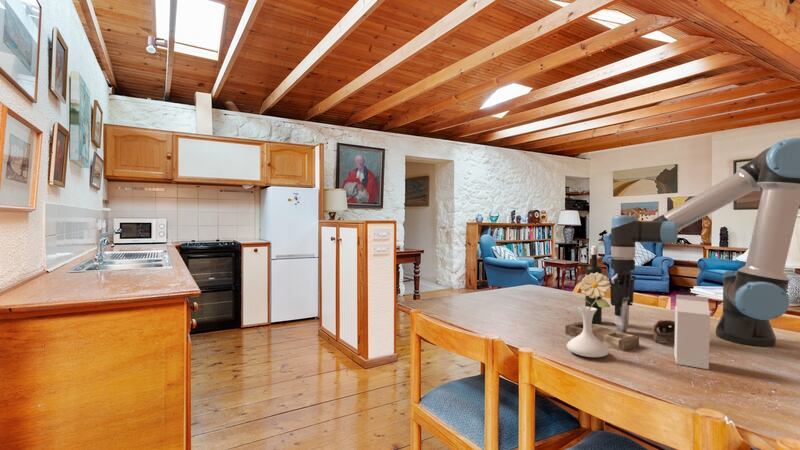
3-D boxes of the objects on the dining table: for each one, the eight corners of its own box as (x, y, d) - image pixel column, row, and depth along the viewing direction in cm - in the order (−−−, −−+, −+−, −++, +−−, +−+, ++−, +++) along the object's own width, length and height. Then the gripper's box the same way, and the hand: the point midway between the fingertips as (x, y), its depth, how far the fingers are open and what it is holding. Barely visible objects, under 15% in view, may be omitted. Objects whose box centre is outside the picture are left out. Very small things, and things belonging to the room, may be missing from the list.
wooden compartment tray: (638, 346, 121) (639, 336, 121) (623, 351, 117) (623, 341, 117) (580, 330, 138) (580, 321, 138) (565, 334, 134) (565, 325, 134)
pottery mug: (697, 349, 120) (690, 328, 119) (667, 360, 122) (659, 340, 120) (673, 329, 132) (666, 309, 130) (646, 339, 134) (639, 320, 132)
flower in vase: (558, 350, 117) (559, 269, 117) (584, 345, 122) (586, 267, 121) (594, 365, 105) (596, 275, 105) (623, 359, 110) (624, 273, 109)
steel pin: (630, 332, 136) (631, 296, 135) (624, 334, 133) (625, 298, 133) (618, 329, 139) (619, 294, 139) (612, 331, 137) (613, 296, 137)
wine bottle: (583, 319, 153) (584, 245, 152) (598, 320, 152) (599, 245, 151) (588, 323, 147) (589, 246, 146) (603, 324, 146) (605, 246, 146)
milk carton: (708, 370, 102) (710, 299, 102) (676, 364, 106) (677, 296, 106) (704, 361, 109) (706, 295, 108) (674, 356, 112) (675, 292, 112)
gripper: (624, 256, 143) (622, 318, 144) (599, 258, 135) (598, 324, 135) (645, 258, 137) (644, 323, 137) (621, 260, 128) (620, 329, 129)
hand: (621, 323), depth 136 cm, fingers closed on steel pin, 3 cm apart
